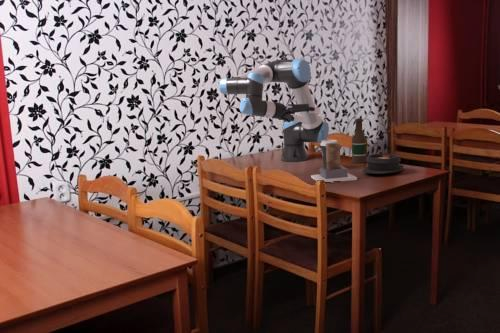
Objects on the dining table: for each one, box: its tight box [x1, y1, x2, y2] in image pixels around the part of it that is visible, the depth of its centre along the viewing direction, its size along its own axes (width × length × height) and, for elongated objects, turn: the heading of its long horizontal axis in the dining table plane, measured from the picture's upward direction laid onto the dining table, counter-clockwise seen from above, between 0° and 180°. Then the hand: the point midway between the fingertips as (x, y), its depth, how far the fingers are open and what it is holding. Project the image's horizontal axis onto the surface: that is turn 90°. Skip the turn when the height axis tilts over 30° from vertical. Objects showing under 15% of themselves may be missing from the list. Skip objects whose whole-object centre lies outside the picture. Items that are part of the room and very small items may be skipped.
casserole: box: [362, 152, 405, 175], centre depth 271 cm, size 25×19×8 cm
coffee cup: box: [319, 139, 339, 167], centre depth 284 cm, size 10×10×15 cm
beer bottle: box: [351, 118, 367, 165], centre depth 297 cm, size 8×8×24 cm
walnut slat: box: [326, 142, 341, 170], centre depth 261 cm, size 6×3×16 cm, turn 102°
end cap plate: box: [310, 165, 358, 183], centre depth 262 cm, size 18×14×5 cm
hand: (312, 115), depth 261 cm, fingers open, 13 cm apart
